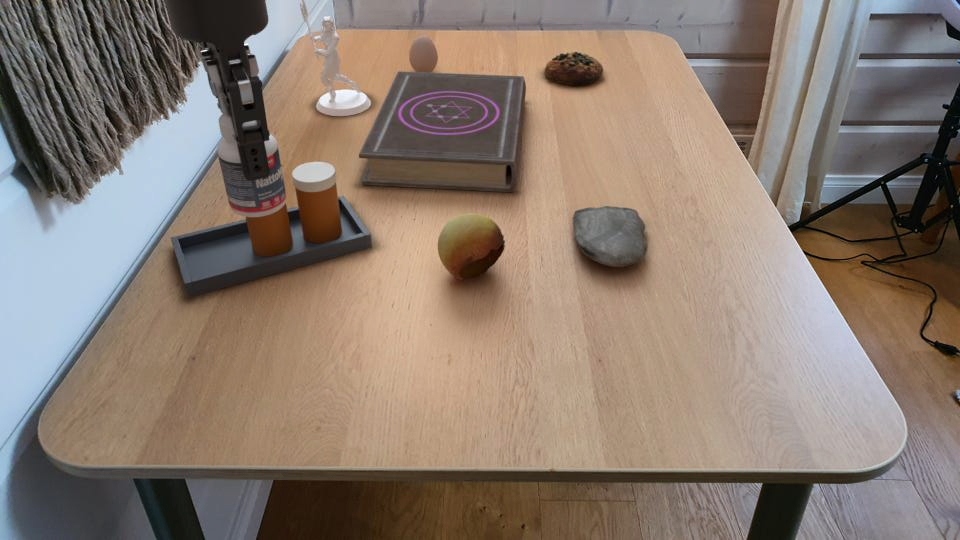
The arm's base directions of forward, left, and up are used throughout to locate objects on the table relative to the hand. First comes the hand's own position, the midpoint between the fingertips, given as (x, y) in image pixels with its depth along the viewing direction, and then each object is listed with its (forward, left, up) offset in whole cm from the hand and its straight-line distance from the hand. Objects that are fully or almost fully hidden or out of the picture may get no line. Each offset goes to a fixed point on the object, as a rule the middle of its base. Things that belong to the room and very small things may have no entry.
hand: (250, 161), depth 67 cm
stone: (+42, -1, -22) cm, 47 cm away
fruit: (+23, +1, -22) cm, 32 cm away
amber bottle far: (+9, +17, -21) cm, 29 cm away
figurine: (+25, +55, -22) cm, 64 cm away
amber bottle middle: (+3, +17, -21) cm, 28 cm away
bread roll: (+68, +48, -22) cm, 86 cm away
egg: (+43, +61, -22) cm, 78 cm away
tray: (+3, +17, -22) cm, 28 cm away
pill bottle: (0, 0, -5) cm, 5 cm away
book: (+36, +34, -22) cm, 54 cm away
